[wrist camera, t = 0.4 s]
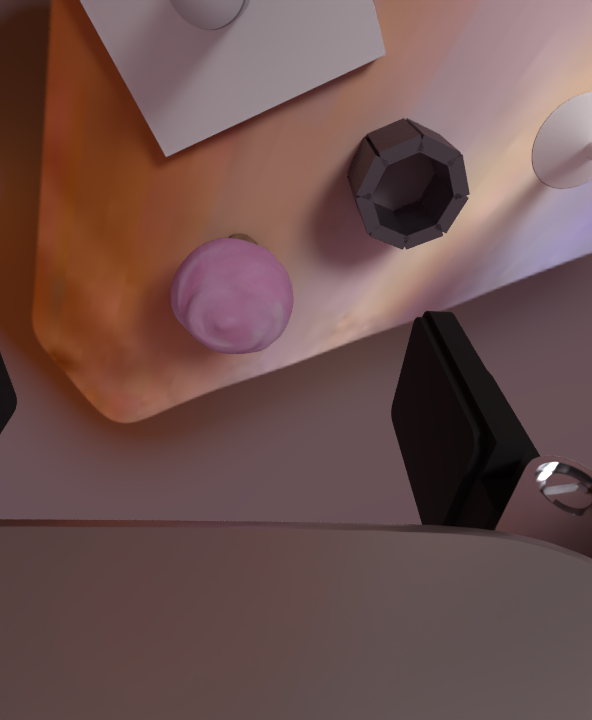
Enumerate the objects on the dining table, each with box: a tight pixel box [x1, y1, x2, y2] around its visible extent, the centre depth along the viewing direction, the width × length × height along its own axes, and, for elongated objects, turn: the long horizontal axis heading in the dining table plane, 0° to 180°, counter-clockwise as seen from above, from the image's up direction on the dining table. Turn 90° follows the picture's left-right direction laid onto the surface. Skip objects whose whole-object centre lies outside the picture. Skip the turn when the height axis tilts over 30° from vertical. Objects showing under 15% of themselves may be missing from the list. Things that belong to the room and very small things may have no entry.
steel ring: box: [347, 118, 469, 250], centre depth 34 cm, size 7×7×5 cm
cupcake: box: [171, 234, 293, 354], centre depth 36 cm, size 9×9×10 cm
